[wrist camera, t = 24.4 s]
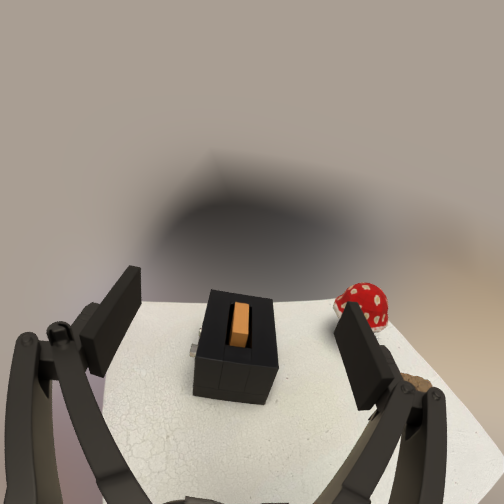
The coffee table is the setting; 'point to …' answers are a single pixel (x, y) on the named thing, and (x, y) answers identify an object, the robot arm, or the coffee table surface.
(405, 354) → the coffee table surface
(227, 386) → the toaster
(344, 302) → the decorative mushroom
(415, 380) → the rock
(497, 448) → the coffee table surface
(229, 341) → the toast
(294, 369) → the coffee table surface
